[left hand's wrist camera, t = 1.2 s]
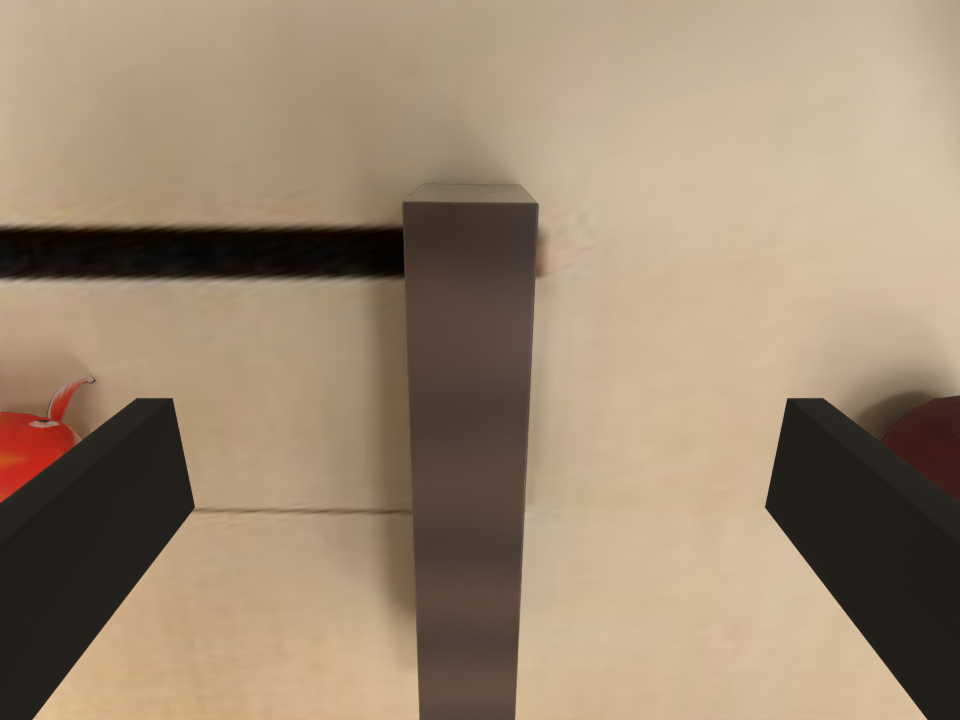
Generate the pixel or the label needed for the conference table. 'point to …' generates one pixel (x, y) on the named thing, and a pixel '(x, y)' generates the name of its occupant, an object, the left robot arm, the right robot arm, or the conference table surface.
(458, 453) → the rail
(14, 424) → the fish
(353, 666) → the conference table surface
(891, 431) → the dark red ball
